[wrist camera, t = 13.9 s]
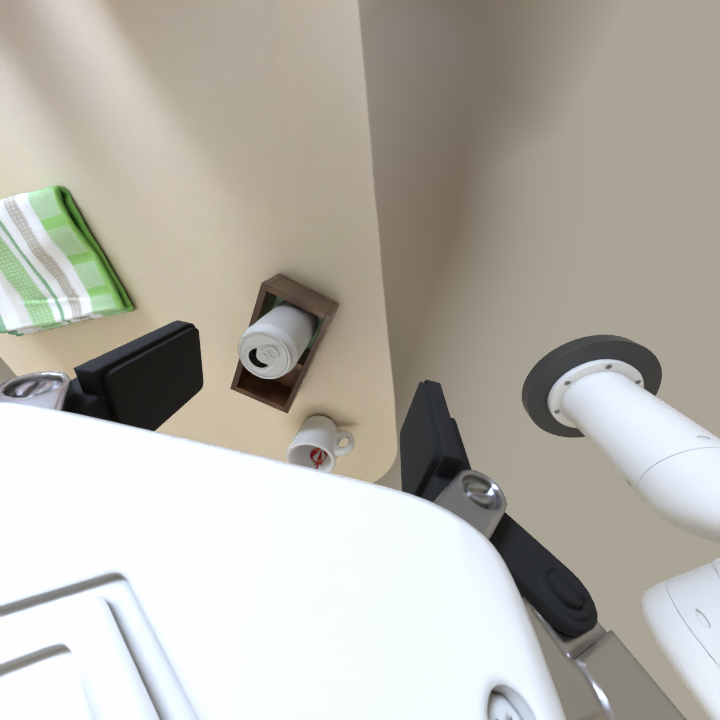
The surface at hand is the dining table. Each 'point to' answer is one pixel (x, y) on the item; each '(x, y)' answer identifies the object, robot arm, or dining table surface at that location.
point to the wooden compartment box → (287, 386)
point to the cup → (318, 444)
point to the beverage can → (277, 340)
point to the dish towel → (52, 266)
